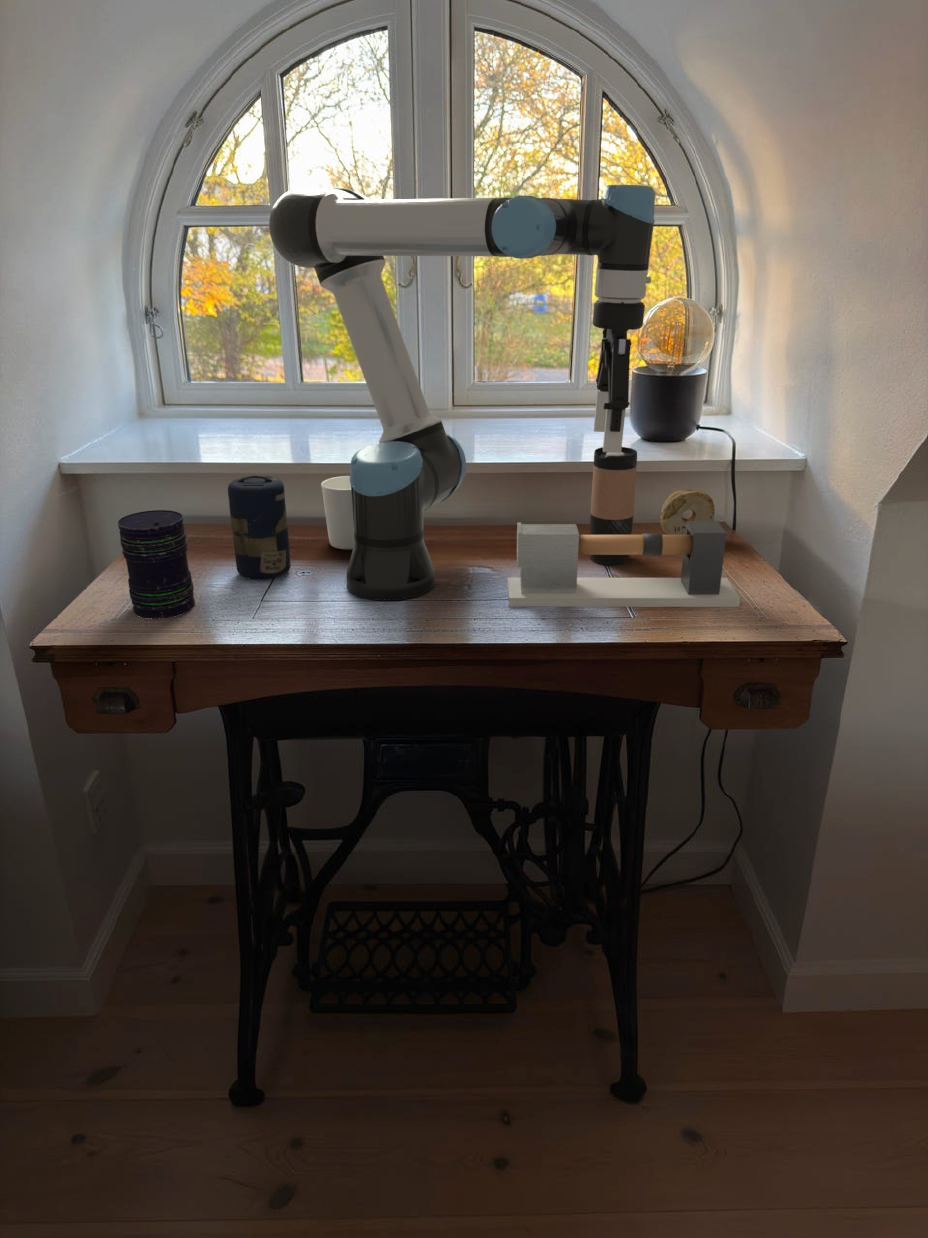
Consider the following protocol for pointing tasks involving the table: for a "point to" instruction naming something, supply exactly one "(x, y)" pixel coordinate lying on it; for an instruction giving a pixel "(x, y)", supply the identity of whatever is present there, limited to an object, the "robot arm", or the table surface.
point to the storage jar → (157, 563)
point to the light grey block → (548, 558)
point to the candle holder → (339, 511)
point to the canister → (259, 527)
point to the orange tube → (635, 544)
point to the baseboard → (624, 594)
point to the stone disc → (679, 504)
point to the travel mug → (613, 498)
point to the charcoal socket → (704, 558)
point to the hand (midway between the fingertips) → (606, 441)
